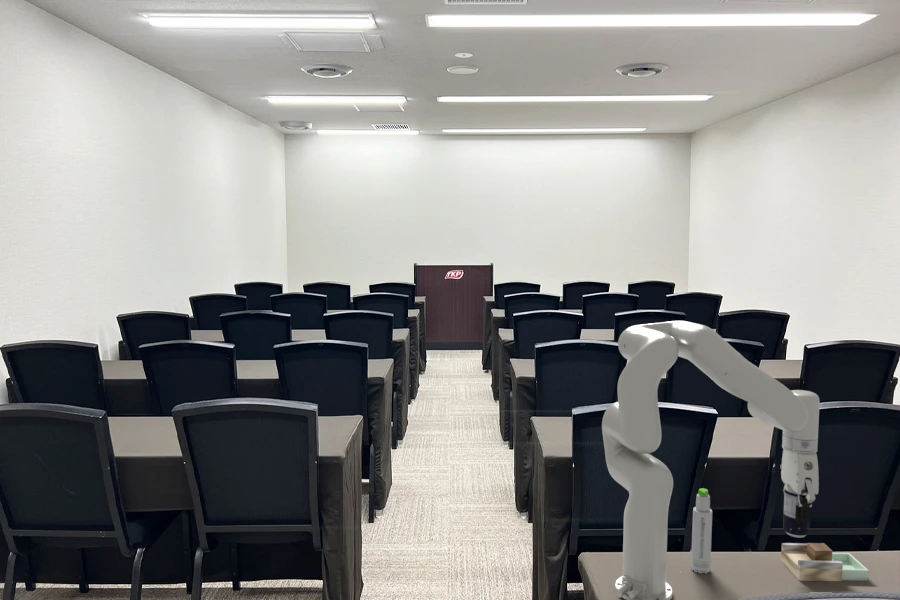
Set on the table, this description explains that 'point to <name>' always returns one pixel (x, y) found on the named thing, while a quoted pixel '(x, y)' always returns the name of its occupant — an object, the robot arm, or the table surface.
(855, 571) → the tray
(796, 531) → the beverage can
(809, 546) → the brown block
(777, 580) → the table surface
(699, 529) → the bottle
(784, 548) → the slot board
